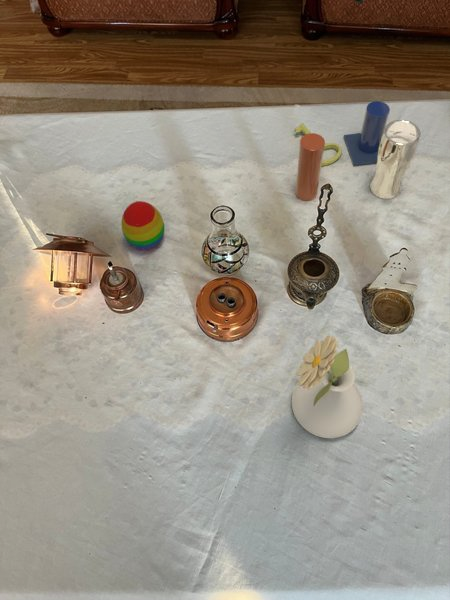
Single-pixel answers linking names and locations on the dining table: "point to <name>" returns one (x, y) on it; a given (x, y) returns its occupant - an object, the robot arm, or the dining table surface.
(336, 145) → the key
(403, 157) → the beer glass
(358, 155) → the blue tile
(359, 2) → the robot arm
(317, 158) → the terracotta pillar
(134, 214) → the decorative egg
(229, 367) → the dining table surface
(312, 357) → the flower in vase
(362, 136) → the blue canister
